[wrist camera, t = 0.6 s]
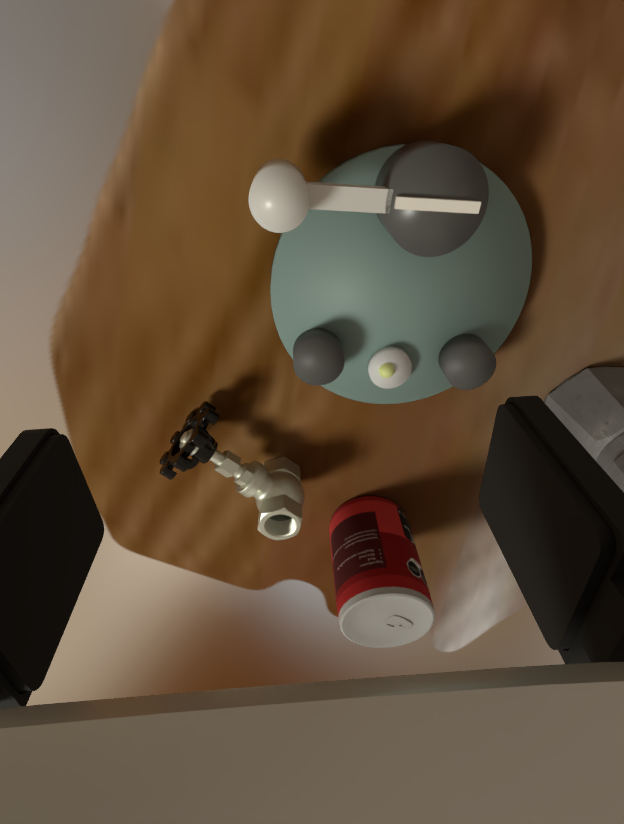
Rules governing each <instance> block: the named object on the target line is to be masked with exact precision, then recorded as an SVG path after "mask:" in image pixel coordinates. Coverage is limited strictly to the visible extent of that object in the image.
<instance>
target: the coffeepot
mask: <svg viewBox="0 0 624 824" xmlns="http://www.w3.org/2000/svg"><path fill="white" fill-rule="evenodd" d="M544 403H545V404H546V405H547V406H548V407H549V408H550V410H551V411H552V412H553V413H554V414H555V415H556V416H557V418H558V419H559V420H560V421H561V422H562V423H563V424H564V425H565V427H566V428H567V429H568V430H569V431H570V432H571V433H572V434H573V436H574V437H575V438H576V439H577V440H578V441H579V442H580V444H581V445H582V446H583V447H584V448H585V449H586V450H587V451H588V453H589V454H590V455H591V456H592V457H593V458H594V459H595V461H596V462H597V463H598V464H599V465H600V466H601V467H602V468H603V470H604V471H605V472H606V473H607V474H608V475H609V476H610V478H611V479H612V480H613V481H614V482H615V483H616V484H617V485H618V487H619V488H620V489H621V490H622V491H623V492H624V367H610V366H603V367H595V368H587V369H585V370H583V371H581V372H579V373H577V374H575V375H573V376H571V377H570V378H568V379H566V380H565V381H563V382H562V383H561V384H560V385H558V386H557V387H556V388H555V389H554V390H553V391H552V392H551V393H550V394H549V395H548V396H547V398H546V399H545V401H544Z"/></svg>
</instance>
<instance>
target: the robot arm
mask: <svg viewBox="0 0 624 824" xmlns="http://www.w3.org/2000/svg"><path fill="white" fill-rule="evenodd" d="M479 502H480V507H481V510H482V512H483V514H484V516H485V519H486V521H487V523H488V525H489V527H490V529H491V531H492V533H493V535H494V537H495V539H496V541H497V543H498V545H499V547H500V549H501V551H502V553H503V555H504V557H505V559H506V561H507V563H508V565H509V567H510V569H511V571H512V573H513V575H514V577H515V579H516V581H517V583H518V585H519V588H520V590H521V592H522V594H523V596H524V598H525V600H526V602H527V604H528V606H529V608H530V610H531V612H532V614H533V616H534V618H535V620H536V622H537V624H538V626H539V628H540V630H541V632H542V634H543V636H544V638H545V640H546V642H547V644H548V645H549V646H550V648H552V649H553V650H559V652H560V654H561V656H562V658H563V660H564V662H565V664H563V665H545V666H529V667H528V666H527V667H511V668H497V669H483V670H470V671H456V672H443V673H430V674H416V675H402V676H389V677H376V678H362V679H349V680H336V681H324V682H311V683H299V684H285V685H273V686H262V687H261V686H260V687H248V688H235V689H223V690H210V691H198V692H186V693H174V694H162V695H150V696H138V697H126V698H114V699H102V700H91V701H80V702H68V703H55V704H43V705H33V706H26V704H27V702H28V700H29V697H30V695H31V693H32V691H35V690H37V689H38V688H39V687H40V686H41V684H42V683H43V680H44V678H45V676H46V674H47V671H48V669H49V666H50V664H51V661H52V659H53V657H54V654H55V652H56V649H57V647H58V645H59V642H60V640H61V637H62V635H63V633H64V630H65V628H66V625H67V623H68V621H69V618H70V616H71V613H72V611H73V609H74V606H75V604H76V601H77V599H78V596H79V594H80V592H81V589H82V587H83V584H84V582H85V580H86V577H87V575H88V572H89V570H90V567H91V565H92V563H93V560H94V558H95V555H96V553H97V551H98V548H99V546H100V543H101V541H102V538H103V534H104V524H103V521H102V518H101V516H100V513H99V511H98V509H97V506H96V504H95V502H94V499H93V497H92V494H91V492H90V490H89V487H88V485H87V483H86V480H85V478H84V475H83V473H82V471H81V468H80V466H79V463H78V461H77V459H76V456H75V454H74V452H73V449H72V447H71V444H70V442H69V440H68V438H67V437H66V436H65V435H63V434H61V435H60V434H59V433H58V432H57V430H55V429H52V428H51V429H35V430H25V431H23V432H22V433H20V434H19V436H18V437H17V438H16V440H15V441H14V442H13V443H12V445H11V446H10V447H9V448H8V449H7V451H6V452H5V453H4V454H3V456H2V457H1V459H0V824H624V492H623V491H622V490H621V489H620V488H619V487H618V485H617V484H616V483H615V482H614V481H613V480H612V479H611V478H610V476H609V475H608V474H607V473H606V472H605V471H604V470H603V468H602V467H601V466H600V465H599V464H598V463H597V462H596V461H595V459H594V458H593V457H592V456H591V455H590V454H589V453H588V451H587V450H586V449H585V448H584V447H583V446H582V445H581V444H580V442H579V441H578V440H577V439H576V438H575V437H574V436H573V434H572V433H571V432H570V431H569V430H568V429H567V428H566V427H565V425H564V424H563V423H562V422H561V421H560V420H559V419H558V418H557V416H556V415H555V414H554V413H553V412H552V411H551V410H550V408H549V407H548V406H547V405H546V404H545V403H544V402H543V401H542V399H541V398H539V397H538V396H523V397H510V398H508V399H507V401H506V403H505V404H502V405H500V406H499V407H498V410H497V414H496V418H495V423H494V428H493V433H492V437H491V442H490V447H489V452H488V456H487V461H486V466H485V471H484V475H483V480H482V485H481V490H480V495H479Z"/></svg>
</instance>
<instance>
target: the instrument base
mask: <svg viewBox="0 0 624 824" xmlns="http://www.w3.org/2000/svg"><path fill="white" fill-rule="evenodd" d="M404 145H406V144H398V145H391V146H385V147H380V148H377V149H374V150H371V151H367V152H364V153H362V154H360V155H358V156H355V157H353V158H351V159H349V160H347V161H345V162H343V163H342V164H340V165H339V166H337V167H336V168H334V169H333V170H331V171H330V172H328V173H327V174H326V175H325V176H324V177H322V178H321V179H320V180H319V181H318V182H321V183H337V184H353V185H369V186H375V182H376V179H377V176H378V174H379V171H380V169H381V168H382V166H383V164H384V163H385V162H386V160H387V159H388V158H389V157H390V156H391V155H392V154H393V153H394V152H395V151H396V150H397V149H399V148H401V147H402V146H404ZM480 164H481V163H480ZM481 165H482V167H483V169H484V171H485V173H486V177H487V180H488V186H489V198H488V205H487V209H486V212H485V215H484V217H483V220H482V222H481V224H480V225H479V227H478V229H477V230H476V231H475V233H474V234H473V235H472V236H471V238H470V239H469V240H468V241H467V242H465V243H464V244H463V245H462V246H460V247H459V248H457V249H456V250H454V251H452V252H450V253H447V254H445V255H441V256H436V257H422V256H417V255H414V254H412V253H409V252H408V251H406V250H404V249H403V248H402V247H401V246H399V245H398V243H397V242H396V241H395V240H394V239H393V237H392V236H391V235H390V234H389V232H388V231H387V230H386V229H385V227H384V226H383V225H382V223H381V222H380V220H379V218H378V216H377V214H376V213H368V212H351V211H333V210H316V209H308V212H307V215H306V217H305V219H304V220H303V221H302V223H301V224H300V225H299V226H298V227H296V228H295V229H293V230H291V231H288V232H284V233H281V235H280V238H279V241H278V244H277V247H276V250H275V255H274V260H273V264H272V276H271V288H270V290H271V306H272V312H273V317H274V322H275V325H276V328H277V331H278V333H279V336H280V338H281V340H282V342H283V344H284V346H285V348H286V350H287V352H288V353H289V354H290V356H291V357H292V359H293V366H294V370H295V373H296V374H297V376H298V377H299V378H300V379H301V380H302V381H304V382H306V383H308V384H311V385H321V386H323V387H324V388H326V389H327V390H329V391H332V392H334V393H336V394H338V395H340V396H343V397H346V398H349V399H352V400H356V401H361V402H366V403H376V404H397V403H404V402H411V401H415V400H419V399H423V398H427V397H429V396H432V395H435V394H438V393H440V392H442V391H444V390H446V389H448V388H451V387H453V386H454V387H456V388H458V389H462V390H469V389H474V388H477V387H479V386H481V385H483V384H484V383H486V382H487V381H488V380H489V379H490V378H491V376H492V375H493V373H494V371H495V368H496V358H495V355H494V353H495V352H496V351H497V350H498V349H499V347H500V346H501V345H502V344H503V342H504V341H505V339H506V338H507V337H508V335H509V334H510V332H511V331H512V329H513V327H514V325H515V323H516V321H517V319H518V318H519V316H520V313H521V310H522V308H523V305H524V303H525V300H526V296H527V293H528V289H529V285H530V278H531V271H532V247H531V240H530V233H529V230H528V226H527V223H526V220H525V216H524V214H523V212H522V210H521V208H520V206H519V204H518V202H517V200H516V198H515V197H514V196H513V194H512V193H511V191H510V190H509V188H508V187H507V186H506V185H505V184H504V183H503V181H502V180H501V179H500V178H499V177H498V176H497V175H496V174H495V173H493V172H492V171H491V170H489V169H488V168H487V167H485V166H484V165H483V164H481Z"/></svg>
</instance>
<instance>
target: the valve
mask: <svg viewBox="0 0 624 824" xmlns="http://www.w3.org/2000/svg"><path fill="white" fill-rule="evenodd" d="M215 410H216V408H215V407H214V406H213V405H211V404H210V403H208V402H207V401H205V402H203V403H202V405H201V406H200V407H199V409H198V413H196V412H194V411H192V412H191V413H190V414H189V415H188V417H187V418H186V425H185V426H184V427H183V429H182V430H181V431H180V432H179V431H177V432H175V434H174V435H173V436H172V438H171V440H170V442H171V443H172V446H171V448H170V450H169V451H167V452H165V453H164V455H163V456H162V457H161V459H160V464H162V465H163V466H162V468H161V470H160V474H161V475H163V476H165V477H167V478H168V479H170V480H171V479H173V478H174V477H175V475H176V474H177V473H176V472H174V471H172V469H173V467H176V468H177V469H179V470H181V471H183V472H185V471H186V470H188V469H192V468H194V467H195V466H196V465H197V464H198V463H199V461H200V462H201V463H206V462H208V461H209V460H210V461H212V462H214V463H215V470H216V471H217V472H219V473H221V474H222V475H224V476H225V477H227V478H228V477H231V476H234V482H235V483H237V484H236V490H237V492H239V493H241V494H242V495H244V496H246V497H251V496H253V497H255V498H256V504H257V507H258V510H259V511H260V512H259V516H258V531H259V532H261V533H262V534H263V535H265V536H267V537H268V538H271V539H273V540H283V539H288V538H291V537H294V536H296V535H298V532H299V530H300V526H301V523H302V507H303V504H304V490H303V487H302V484H301V483H300V479H301V475H300V467H299V466H298V465H297V464H295V463H294V462H292V461H291V460H289V459H288V458H286V457H280V458H276V459H273V460H269V461H266V462H264V465H262V464H261V463H259V462H258V461H252V462H251V463H244V464H240V461H241V458H240V457H238V456H237V455H235V454H233V453H232V452H230V451H229V450H228V451H224V452H223V453H221V452H220V451H218V450H216V449H217V445H218V444H217V442H216V441H215V440H214V438H213V437H212V436H210V435H209V433H208V432H207V430H206V428H207V425H208V422H209V423H211V424H212V425H214V424H215V423H216V422H217V420H218V418H219V415H218V414H217V413H216V412H215ZM180 449H181V450H180ZM189 455H190V456H192V457H193V458H192V459H191V460H190V459H188V458H187V457H188V456H189Z"/></svg>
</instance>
